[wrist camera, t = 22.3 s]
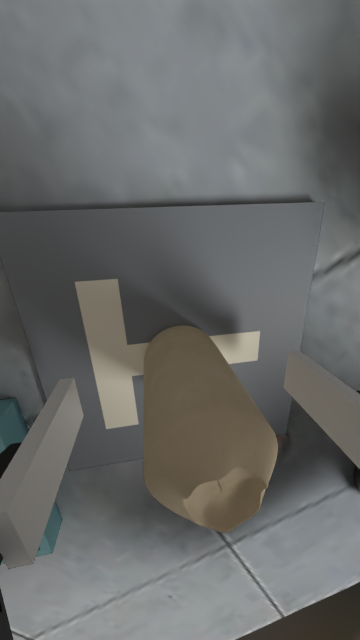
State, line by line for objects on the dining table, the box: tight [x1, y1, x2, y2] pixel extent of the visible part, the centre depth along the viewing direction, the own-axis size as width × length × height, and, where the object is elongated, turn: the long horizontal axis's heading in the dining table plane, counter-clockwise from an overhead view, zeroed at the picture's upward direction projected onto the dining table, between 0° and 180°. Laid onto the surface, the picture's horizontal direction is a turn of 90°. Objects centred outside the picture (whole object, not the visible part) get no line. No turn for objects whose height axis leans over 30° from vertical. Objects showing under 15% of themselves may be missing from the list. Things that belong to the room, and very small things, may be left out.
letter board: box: [0, 202, 325, 471], centre depth 17 cm, size 20×20×1 cm
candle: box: [143, 325, 278, 533], centre depth 12 cm, size 6×6×10 cm
